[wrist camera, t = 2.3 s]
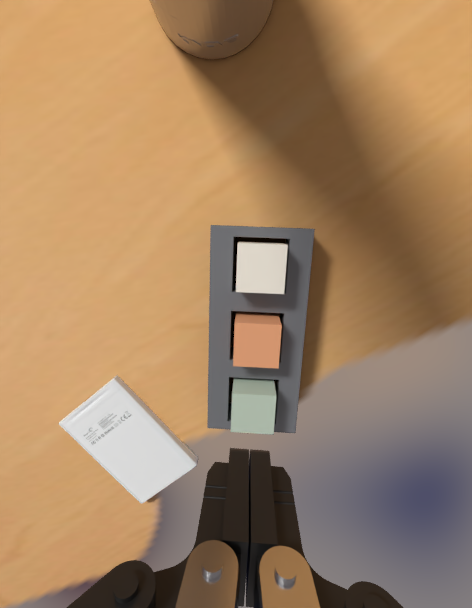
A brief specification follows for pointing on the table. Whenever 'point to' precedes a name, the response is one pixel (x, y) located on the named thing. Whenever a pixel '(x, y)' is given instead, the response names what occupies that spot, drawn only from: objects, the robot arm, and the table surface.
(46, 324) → the table surface
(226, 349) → the keypad
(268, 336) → the terracotta button
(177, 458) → the external hard drive
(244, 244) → the cream button
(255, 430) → the sage button
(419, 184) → the table surface
